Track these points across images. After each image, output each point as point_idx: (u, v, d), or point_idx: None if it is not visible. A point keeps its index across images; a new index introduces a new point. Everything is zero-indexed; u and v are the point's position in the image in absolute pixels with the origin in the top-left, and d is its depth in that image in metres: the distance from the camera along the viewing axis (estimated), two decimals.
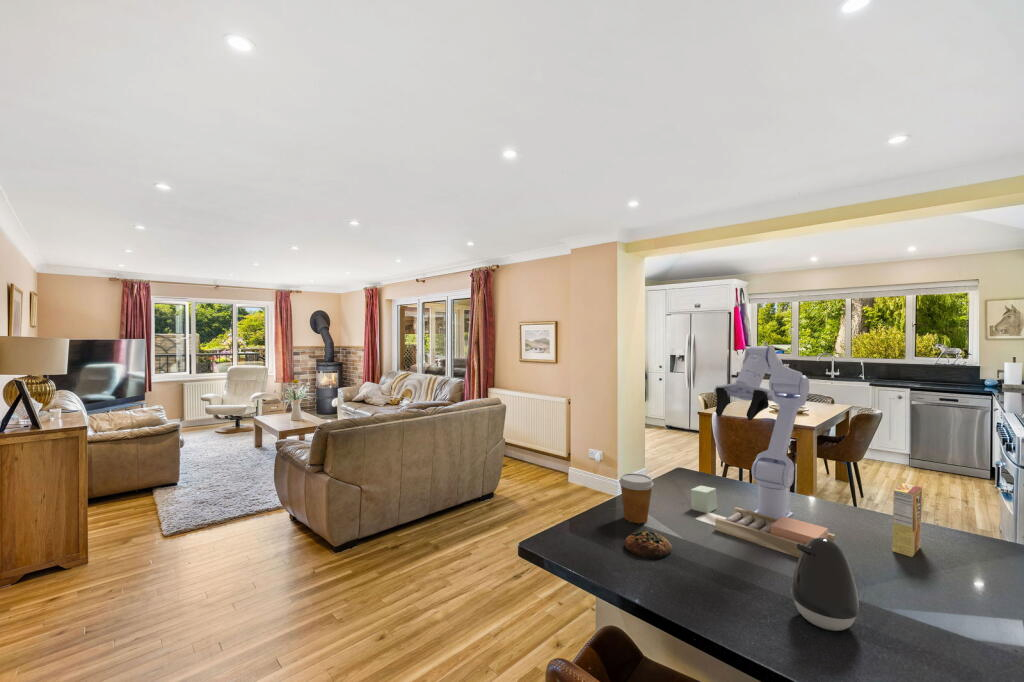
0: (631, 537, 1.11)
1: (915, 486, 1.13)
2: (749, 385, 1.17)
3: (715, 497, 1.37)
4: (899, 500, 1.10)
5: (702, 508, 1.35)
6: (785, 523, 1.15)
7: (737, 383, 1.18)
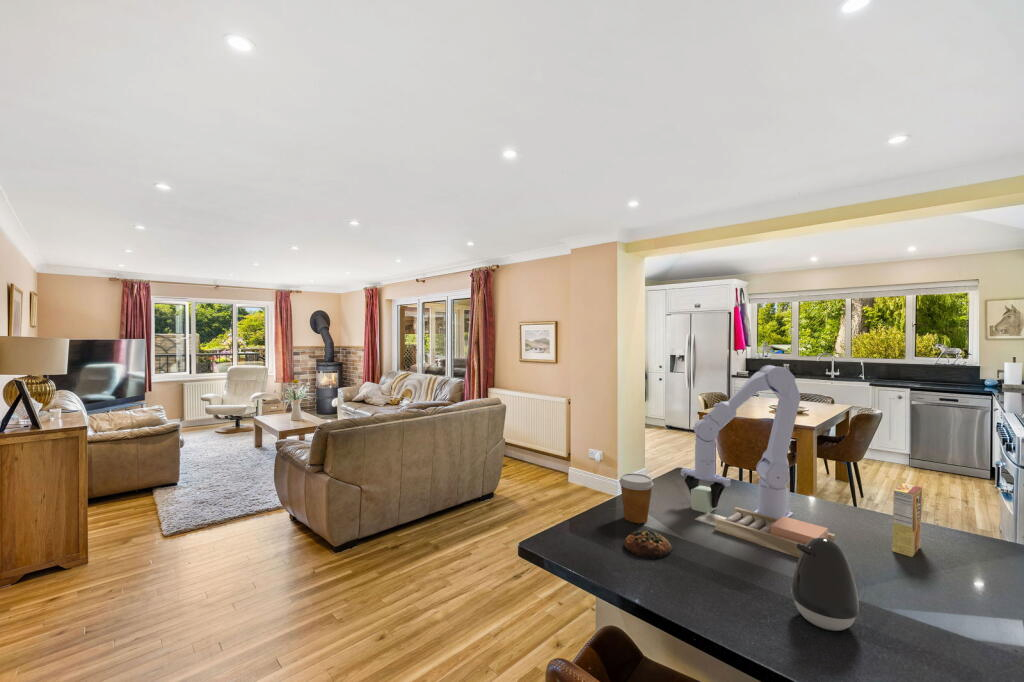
0: (631, 537, 1.11)
1: (915, 486, 1.13)
2: (707, 478, 1.34)
3: None
4: (899, 500, 1.10)
5: (702, 508, 1.35)
6: (785, 523, 1.15)
7: (697, 477, 1.36)
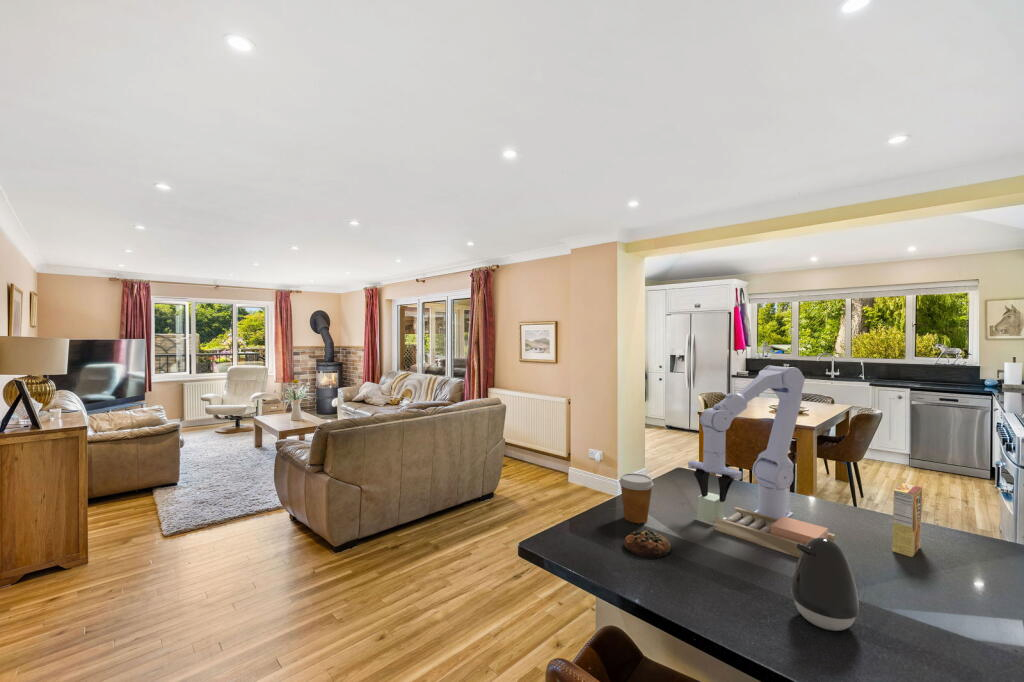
0: (630, 536, 1.12)
1: (915, 486, 1.13)
2: (717, 471, 1.26)
3: (723, 505, 1.30)
4: (899, 500, 1.10)
5: (708, 517, 1.28)
6: (785, 523, 1.15)
7: None
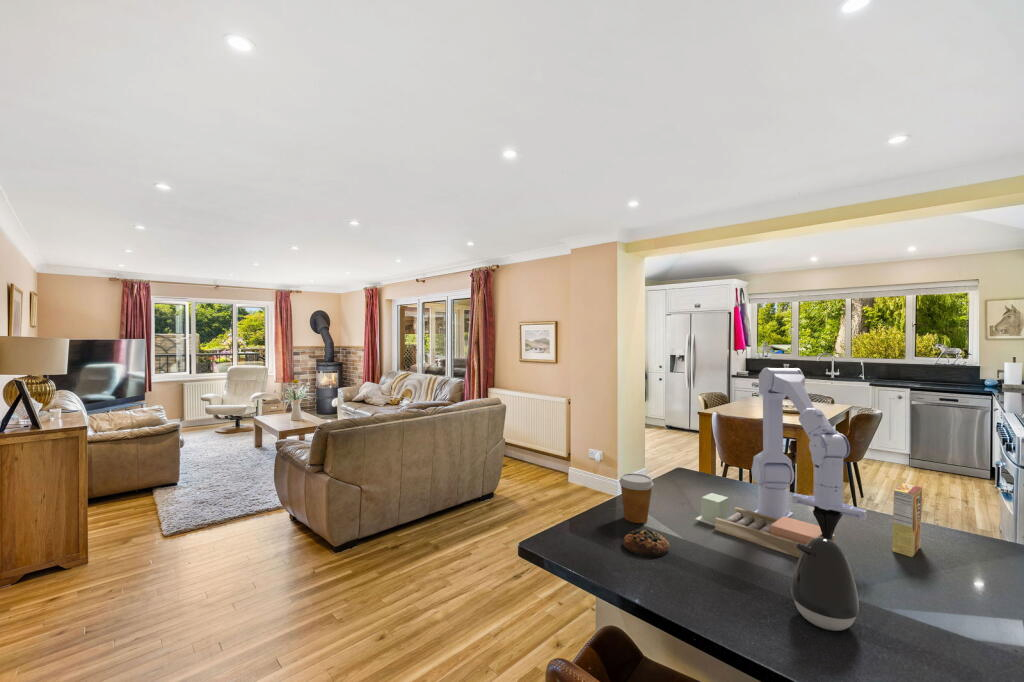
0: (629, 536, 1.12)
1: (915, 486, 1.13)
2: (835, 509, 1.05)
3: (727, 506, 1.29)
4: (899, 500, 1.10)
5: (713, 518, 1.27)
6: (785, 523, 1.15)
7: None
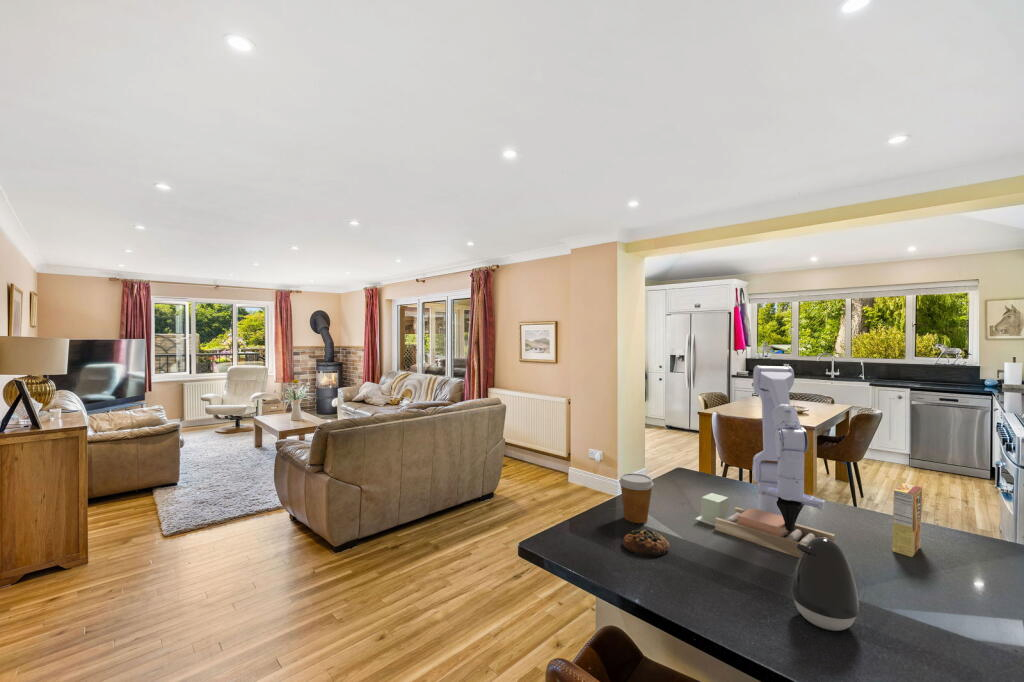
0: (629, 535, 1.12)
1: (915, 486, 1.13)
2: (796, 499, 1.11)
3: (727, 506, 1.29)
4: (899, 500, 1.10)
5: (713, 518, 1.27)
6: (752, 514, 1.21)
7: None
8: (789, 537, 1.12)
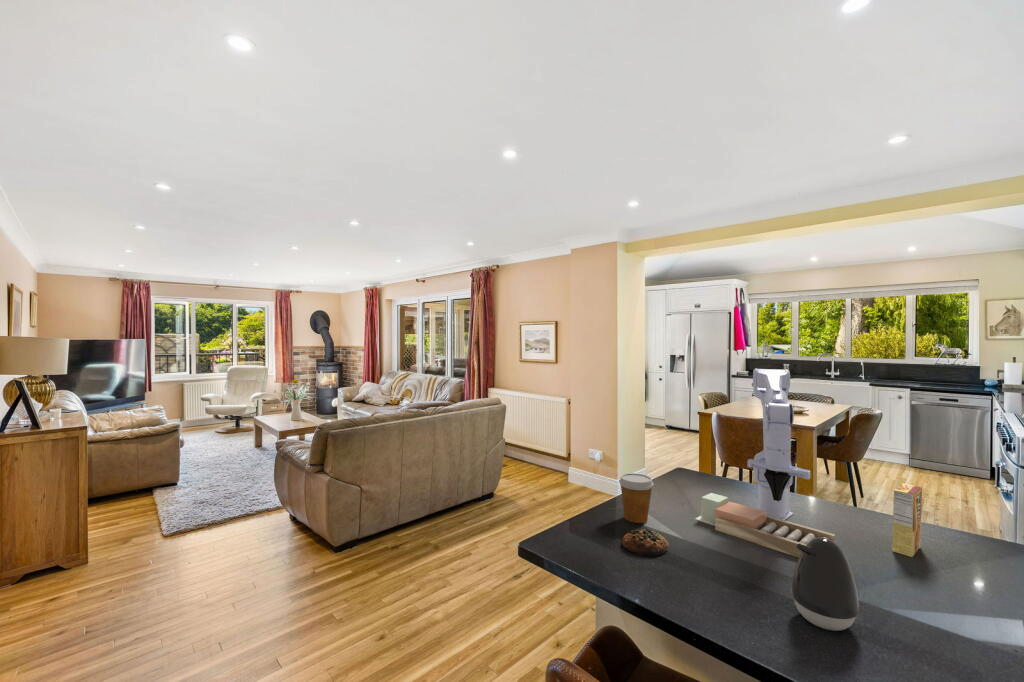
0: (628, 535, 1.12)
1: (915, 486, 1.13)
2: (782, 470, 1.16)
3: None
4: (899, 500, 1.10)
5: (712, 518, 1.27)
6: (729, 507, 1.25)
7: None
8: (789, 537, 1.12)
